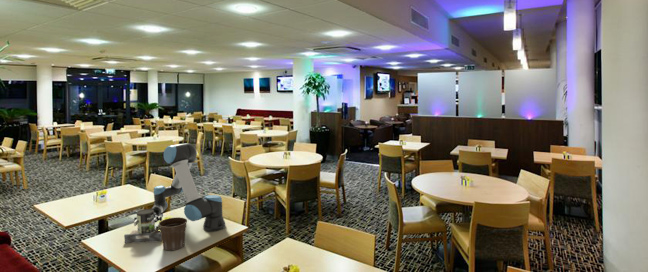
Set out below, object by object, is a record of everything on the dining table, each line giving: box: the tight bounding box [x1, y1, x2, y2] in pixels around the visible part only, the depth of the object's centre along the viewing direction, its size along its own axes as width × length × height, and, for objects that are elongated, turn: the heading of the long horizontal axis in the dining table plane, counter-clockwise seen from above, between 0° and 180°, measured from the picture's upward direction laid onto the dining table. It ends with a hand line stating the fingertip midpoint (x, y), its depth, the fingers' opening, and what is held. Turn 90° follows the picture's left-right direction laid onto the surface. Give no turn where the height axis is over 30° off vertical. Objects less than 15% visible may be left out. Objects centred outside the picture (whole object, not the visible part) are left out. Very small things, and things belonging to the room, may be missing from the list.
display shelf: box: [123, 229, 163, 244], centre depth 230 cm, size 22×14×6 cm, turn 97°
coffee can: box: [136, 208, 156, 234], centre depth 229 cm, size 10×10×14 cm
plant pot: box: [158, 216, 188, 252], centre depth 217 cm, size 16×16×16 cm
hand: (143, 223), depth 225 cm, fingers closed on coffee can, 10 cm apart
